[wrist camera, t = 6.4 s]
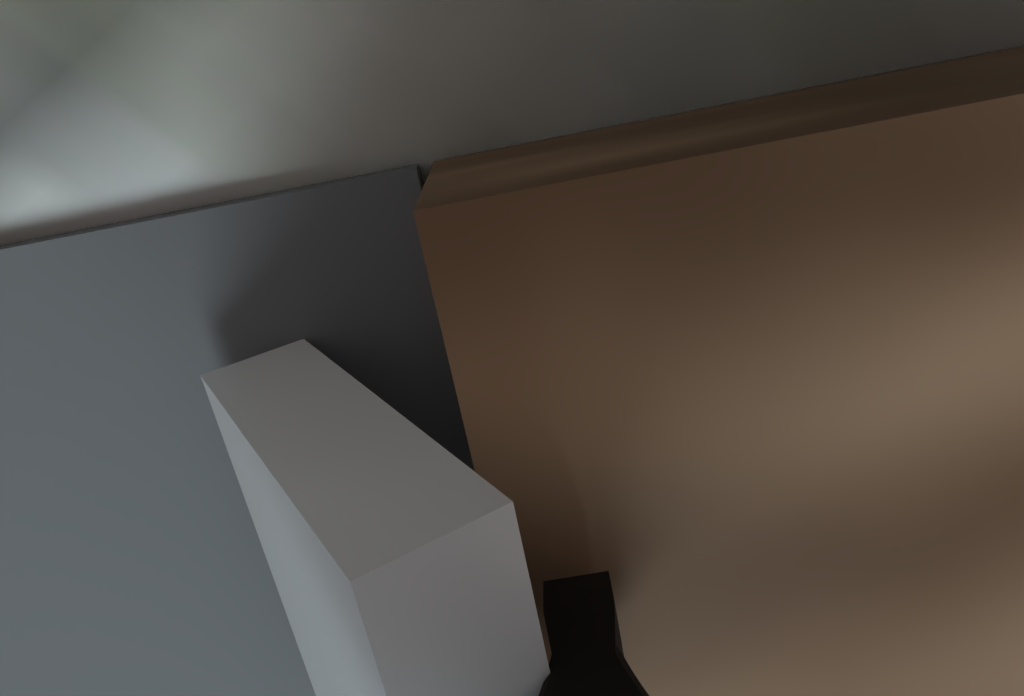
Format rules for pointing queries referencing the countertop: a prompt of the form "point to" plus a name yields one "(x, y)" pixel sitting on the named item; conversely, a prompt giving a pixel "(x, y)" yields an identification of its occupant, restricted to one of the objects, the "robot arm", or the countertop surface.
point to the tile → (377, 536)
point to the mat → (184, 427)
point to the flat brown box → (761, 377)
